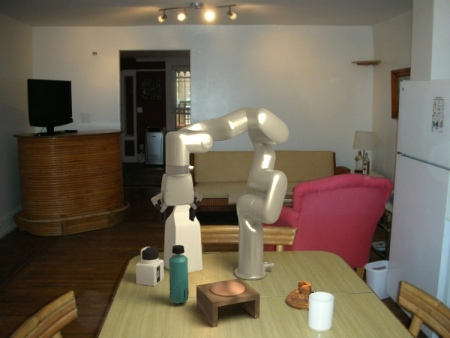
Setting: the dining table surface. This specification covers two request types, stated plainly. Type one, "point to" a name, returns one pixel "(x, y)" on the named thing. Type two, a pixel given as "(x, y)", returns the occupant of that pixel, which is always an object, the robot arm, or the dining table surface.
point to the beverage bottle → (178, 275)
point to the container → (149, 267)
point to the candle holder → (300, 296)
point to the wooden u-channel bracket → (226, 298)
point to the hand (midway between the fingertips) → (177, 221)
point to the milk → (183, 237)
